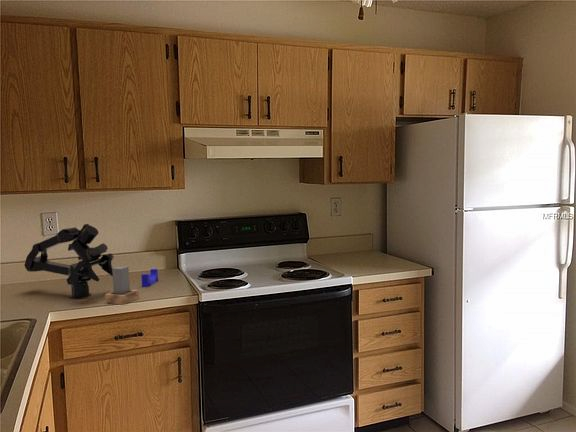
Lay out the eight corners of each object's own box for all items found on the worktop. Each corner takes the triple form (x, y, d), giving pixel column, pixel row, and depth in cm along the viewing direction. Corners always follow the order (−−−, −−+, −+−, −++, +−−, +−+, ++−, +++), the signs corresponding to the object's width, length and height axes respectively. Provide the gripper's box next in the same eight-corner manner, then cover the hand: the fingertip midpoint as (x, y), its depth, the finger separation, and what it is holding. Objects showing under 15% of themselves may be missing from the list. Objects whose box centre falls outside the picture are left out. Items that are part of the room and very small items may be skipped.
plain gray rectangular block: (114, 299, 198) (112, 268, 197) (121, 296, 202) (119, 266, 201) (123, 299, 197) (121, 269, 195) (130, 296, 201) (128, 266, 199)
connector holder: (105, 302, 197) (104, 294, 196) (120, 296, 206) (119, 288, 205) (124, 304, 194) (123, 296, 193) (138, 298, 202) (138, 290, 202)
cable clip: (149, 280, 233) (148, 268, 232) (158, 281, 232) (157, 268, 232) (138, 287, 221) (138, 274, 220) (148, 287, 220) (147, 274, 220)
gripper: (77, 242, 192) (101, 270, 190) (108, 235, 210) (131, 261, 207) (63, 260, 196) (86, 288, 193) (95, 251, 213) (117, 277, 211)
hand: (106, 278), depth 201 cm, fingers open, 9 cm apart
